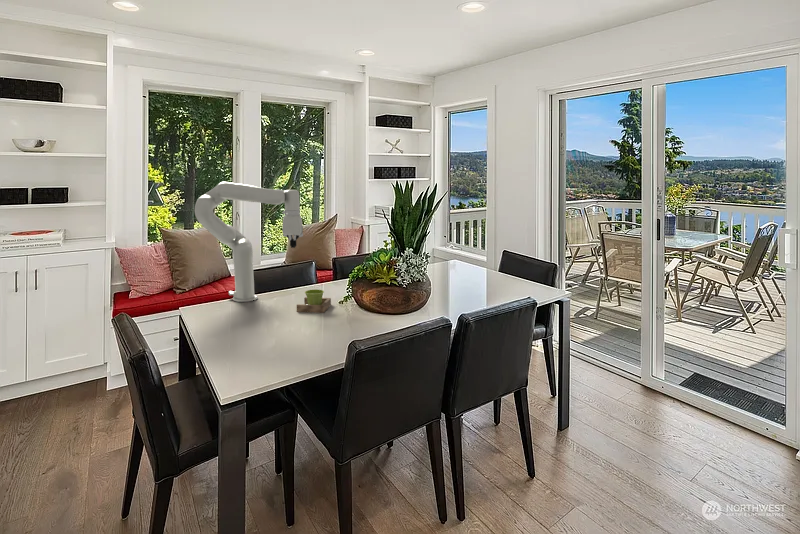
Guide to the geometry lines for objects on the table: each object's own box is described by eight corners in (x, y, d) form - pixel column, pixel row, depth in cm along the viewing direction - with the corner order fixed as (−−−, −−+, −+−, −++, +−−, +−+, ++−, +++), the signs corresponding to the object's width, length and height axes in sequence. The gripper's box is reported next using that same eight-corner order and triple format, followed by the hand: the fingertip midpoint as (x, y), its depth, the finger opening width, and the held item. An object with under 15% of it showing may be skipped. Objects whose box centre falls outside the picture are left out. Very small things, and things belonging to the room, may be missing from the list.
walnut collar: (296, 311, 236) (296, 304, 235) (305, 303, 250) (305, 297, 250) (323, 312, 235) (323, 306, 234) (330, 304, 249) (330, 298, 249)
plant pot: (305, 311, 237) (305, 294, 235) (304, 306, 246) (304, 289, 244) (324, 310, 239) (324, 293, 237) (323, 305, 248) (323, 288, 246)
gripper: (276, 213, 254) (277, 248, 257) (304, 214, 252) (305, 248, 256) (281, 212, 261) (282, 246, 265) (308, 213, 260) (308, 246, 263)
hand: (293, 247), depth 260 cm, fingers closed
